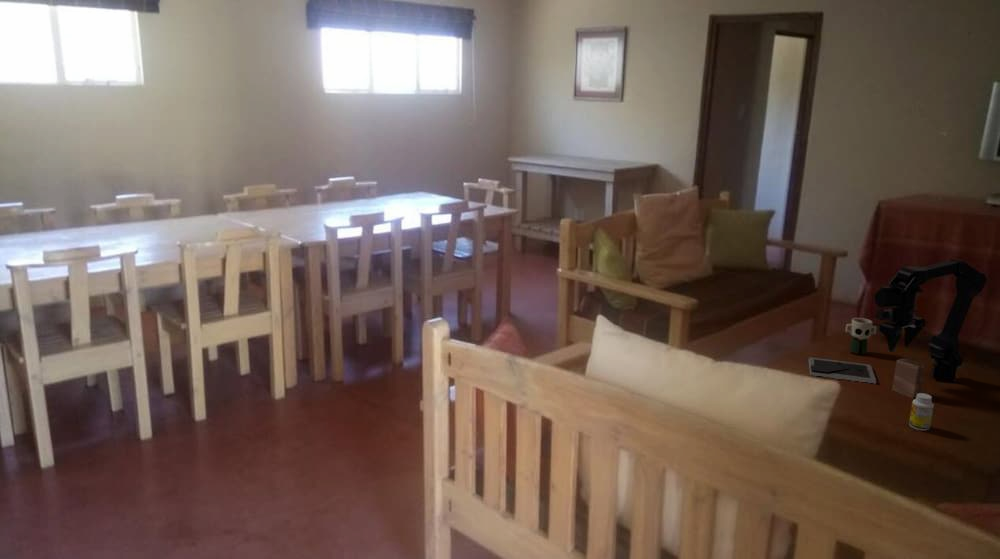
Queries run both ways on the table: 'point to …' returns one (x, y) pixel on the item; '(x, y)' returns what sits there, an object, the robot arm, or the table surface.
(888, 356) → the table surface
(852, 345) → the character mug
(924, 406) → the supplement bottle
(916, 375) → the streaky grey slab
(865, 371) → the picture frame
